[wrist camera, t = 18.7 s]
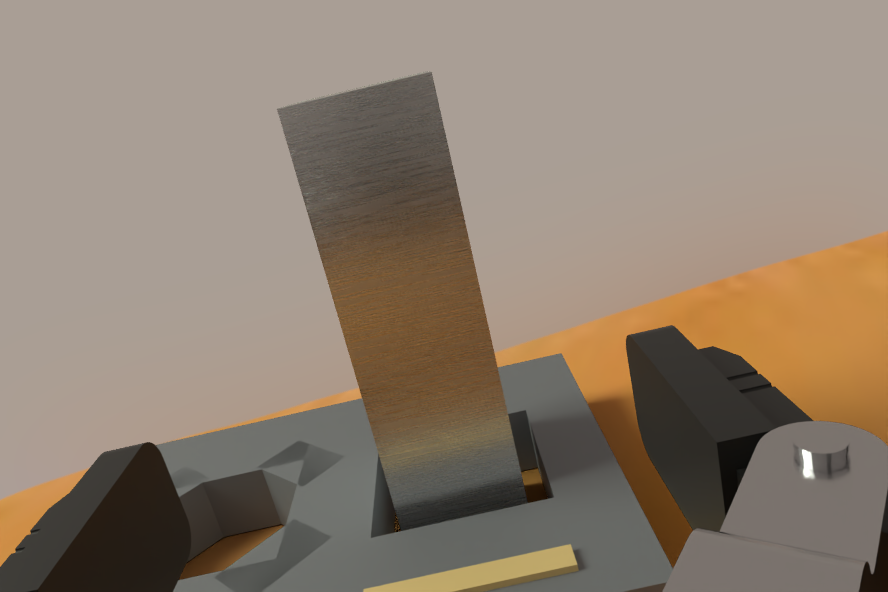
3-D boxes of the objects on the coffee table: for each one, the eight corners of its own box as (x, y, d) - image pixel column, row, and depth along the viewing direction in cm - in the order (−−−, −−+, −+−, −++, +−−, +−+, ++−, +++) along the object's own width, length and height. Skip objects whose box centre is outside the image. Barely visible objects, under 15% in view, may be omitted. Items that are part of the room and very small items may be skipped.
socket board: (571, 404, 31) (560, 349, 30) (690, 660, 18) (677, 572, 17) (175, 493, 31) (153, 441, 31) (0, 806, 18) (-46, 728, 17)
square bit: (519, 485, 26) (426, 71, 21) (539, 556, 22) (431, 71, 18) (414, 509, 26) (299, 102, 22) (416, 584, 22) (276, 108, 18)
